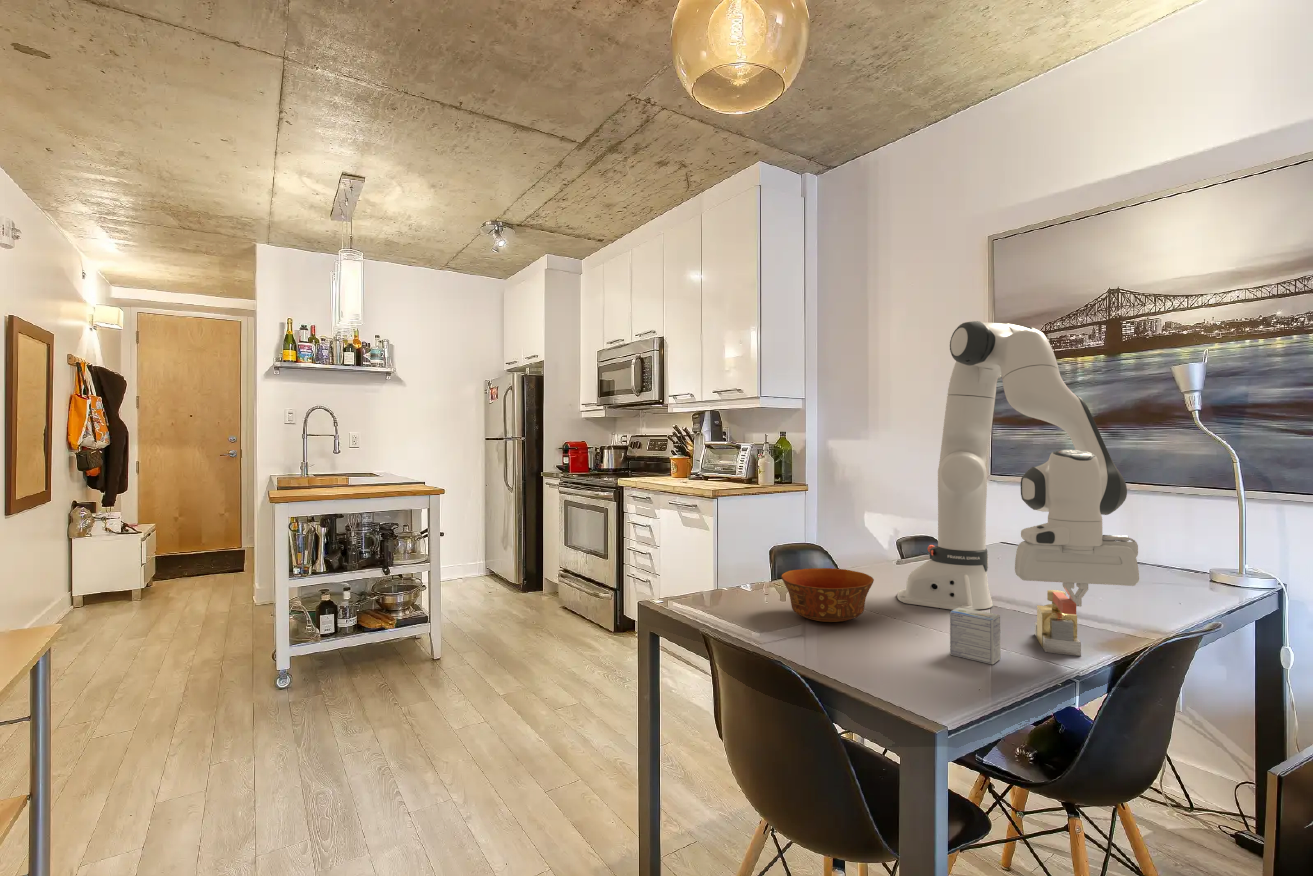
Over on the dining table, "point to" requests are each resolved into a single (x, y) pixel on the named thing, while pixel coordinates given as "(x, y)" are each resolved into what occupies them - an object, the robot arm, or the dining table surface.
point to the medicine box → (975, 635)
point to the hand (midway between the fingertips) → (1075, 605)
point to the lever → (1062, 601)
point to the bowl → (827, 593)
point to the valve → (1057, 630)
